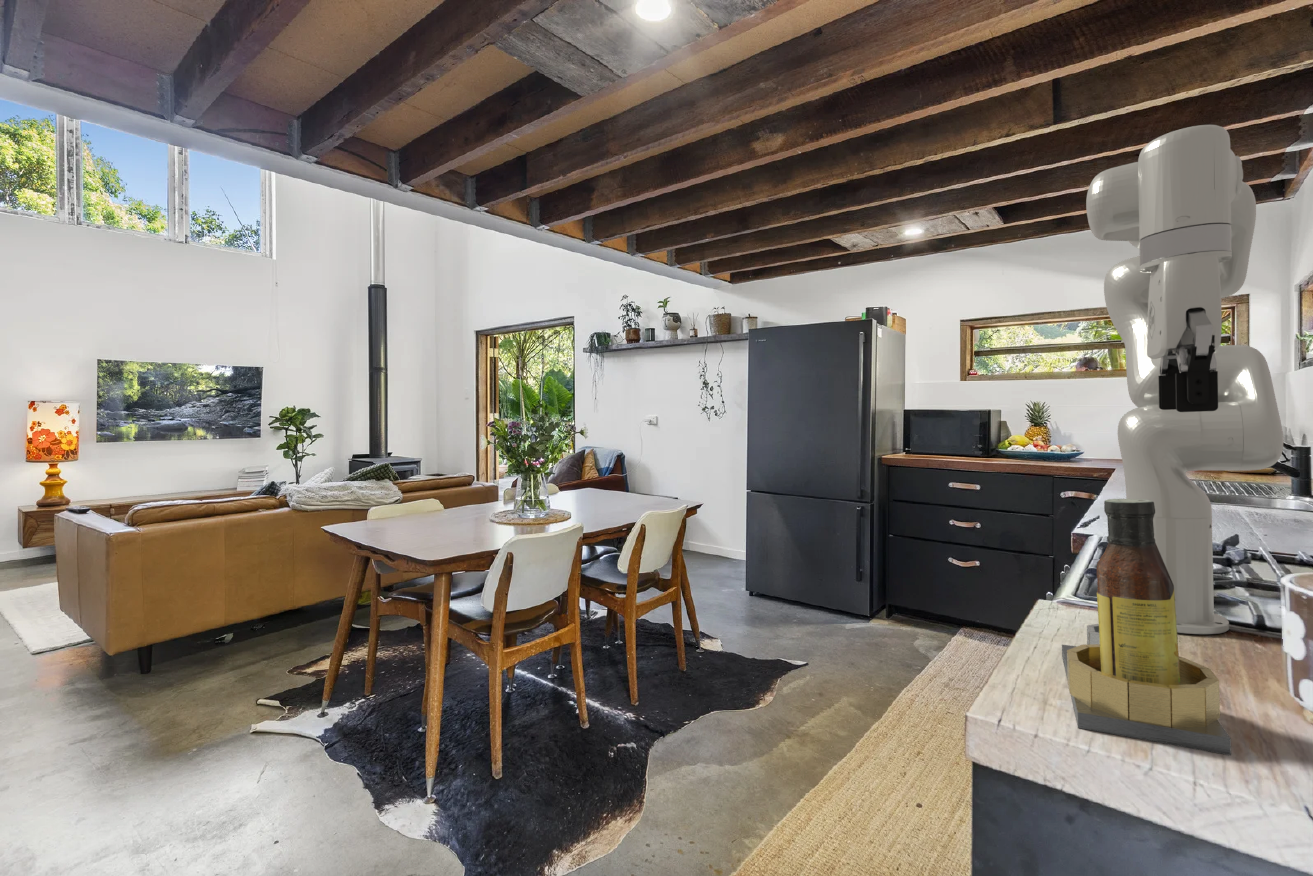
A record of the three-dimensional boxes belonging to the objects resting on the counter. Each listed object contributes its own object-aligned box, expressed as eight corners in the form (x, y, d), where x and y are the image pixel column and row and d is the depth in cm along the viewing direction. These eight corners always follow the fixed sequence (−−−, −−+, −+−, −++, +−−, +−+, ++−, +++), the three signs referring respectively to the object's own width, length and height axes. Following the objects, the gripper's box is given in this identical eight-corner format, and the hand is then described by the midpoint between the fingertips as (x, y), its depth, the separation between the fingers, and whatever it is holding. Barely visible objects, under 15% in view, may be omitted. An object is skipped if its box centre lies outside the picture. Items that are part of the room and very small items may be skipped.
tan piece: (1059, 656, 77) (1058, 616, 77) (1178, 672, 71) (1177, 629, 71) (1074, 727, 59) (1073, 675, 59) (1235, 756, 53) (1234, 698, 53)
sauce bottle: (1197, 708, 59) (1193, 502, 59) (1144, 715, 58) (1140, 505, 58) (1132, 681, 65) (1128, 495, 65) (1083, 688, 64) (1079, 498, 64)
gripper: (1129, 270, 75) (1131, 410, 76) (1153, 241, 61) (1156, 414, 61) (1209, 260, 72) (1211, 407, 72) (1256, 225, 57) (1258, 410, 58)
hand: (1186, 410), depth 67 cm, fingers open, 9 cm apart
